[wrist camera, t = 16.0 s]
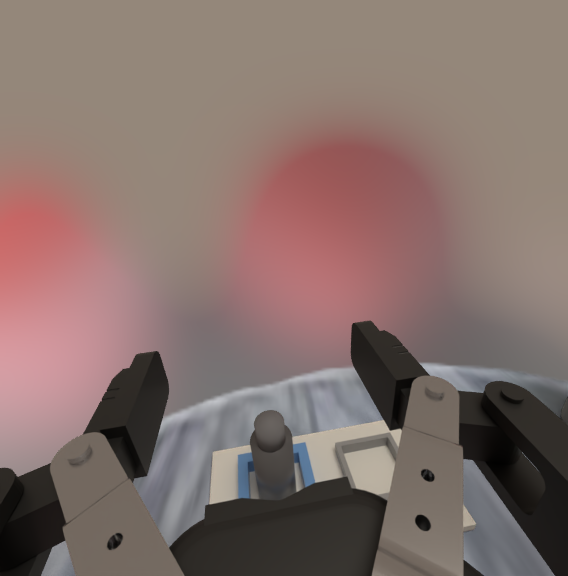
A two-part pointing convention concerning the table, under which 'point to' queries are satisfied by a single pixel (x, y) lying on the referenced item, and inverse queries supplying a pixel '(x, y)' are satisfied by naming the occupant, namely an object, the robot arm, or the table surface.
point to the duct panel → (320, 463)
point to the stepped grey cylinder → (273, 456)
